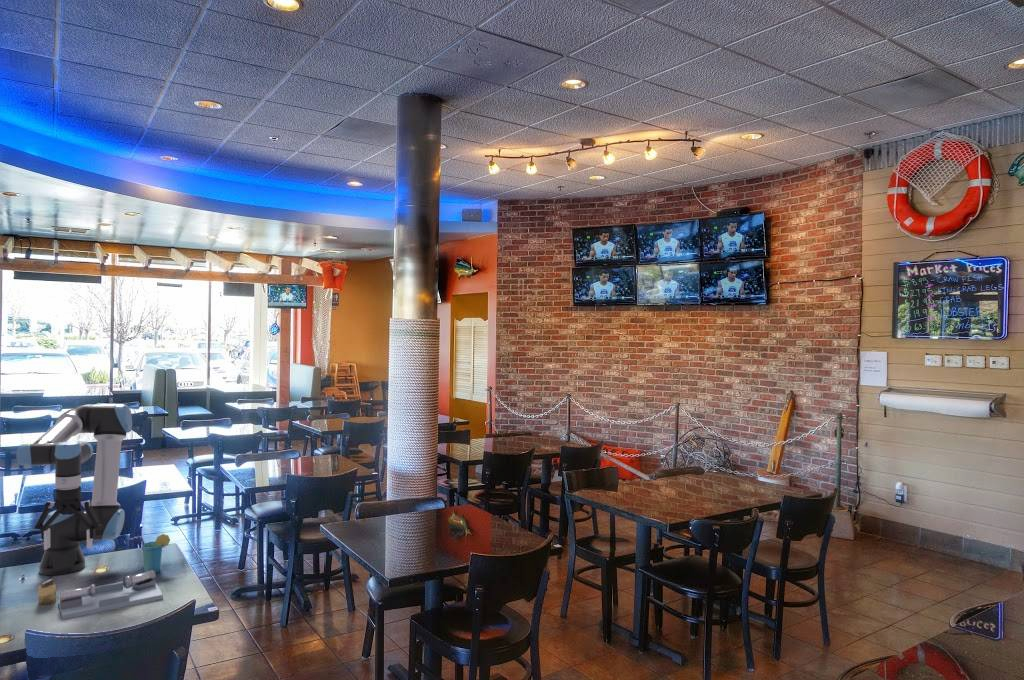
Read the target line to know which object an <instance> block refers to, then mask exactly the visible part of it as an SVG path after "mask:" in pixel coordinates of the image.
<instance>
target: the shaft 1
mask: <svg viewBox="0 0 1024 680" xmlns="http://www.w3.org/2000/svg"><path fill="white" fill-rule="evenodd" d="M95 587H96V584H95V583H91V584H90V585H89V586H85V587H81V588H76V589H70V590H66V591H65V590H64V591H60V592H59V599H60V602H61V601H66V600H71V599H76V598H81V597H86V596H91V597H95V594H96V590H95Z"/></svg>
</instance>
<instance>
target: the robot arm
mask: <svg viewBox="0 0 1024 680" xmlns="http://www.w3.org/2000/svg"><path fill="white" fill-rule="evenodd" d="M132 417H133V416H132V412H131V409H130V407H129V405H127V404H121V403H103V404H102V403H100V404H99V403H97V404H95V403H93V404H92V403H89V404H82V405H78V406H76V407H73V408H70V409H69V410H67V411H65V412H63V413H62V414H60V416H58V417H57V419H56V421H55V424H53V425H52V426H51V427H50V428H49V429H48V430H47V431H45V432H44V433H43V434H42V435H41V436H40V437H39V438H38V439H37V440H36V441H34V442H33V443H24V444H21V445H19V446H18V448H17V451H16V462H17V464H18V465H20V466H29V467H32V466H50V465H51V466H54V472H55V473H54V478H55V480H54V481H55V482H54V484H55V485H54V487H55V488H56V489H55V492H54V494H55V501H52V500H49V501H46V502H45V503H44V509H43V510H42V513H41V515H40V516H39V518H38V519H37V522H36V523H35V526H34V529H35V530H40V534H41V535H40V536H41V537H40V539H41V540H43V551H44V553H43V555H42V558H41V561H40V563H39V567H38V569H39V570H38V571H39V574H41V575H44V576H61V575H68V574H71V573H75V572H78V571H80V570H82V569H84V568H85V567H86V559H85V556H84V554H83V551H82V547H81V542H86V549H87V550H89V549H91V548H92V547H93V546H94V545H93V542H97V541H99V542H101V541H103V542H105V541H109V540H110V541H111V540H115V539H117V538H118V537H119V536H120V534H121V533H122V530H123V528H124V523H125V517H126V516H125V510H124V509H123V508H121V504H120V503H119V502H118V501H117V500H118V499H117V497H118V488H119V486H118V485H119V476H120V475H119V473H120V464H121V454H122V453H121V451H122V442H123V440H125V439H126V438H127V433H128V434H129V433H130V432H132V429H133V418H132ZM79 434H93V438H94V439H95V440H96V441H97V442H96V443H97V444H96V452H95V454H96V455H95V463H94V476H93V485H92V486H93V487H92V495H91V496H92V497H91V500H90V499H88V500H85V501H82V487H81V486H82V465H83V464H84V463H86V462H87V461H89V459H91V457H92V456H93V454H94V447H93V445H92V444H91V443H90V442H89V441H86V440H79V441H72V440H71V441H69V440H70V439H71V438H72V437H75V436H77V435H79ZM81 507H82V508H84V510H83V509H82V508H81ZM52 508H55V509H56V510H53V511H51V510H52Z"/></svg>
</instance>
